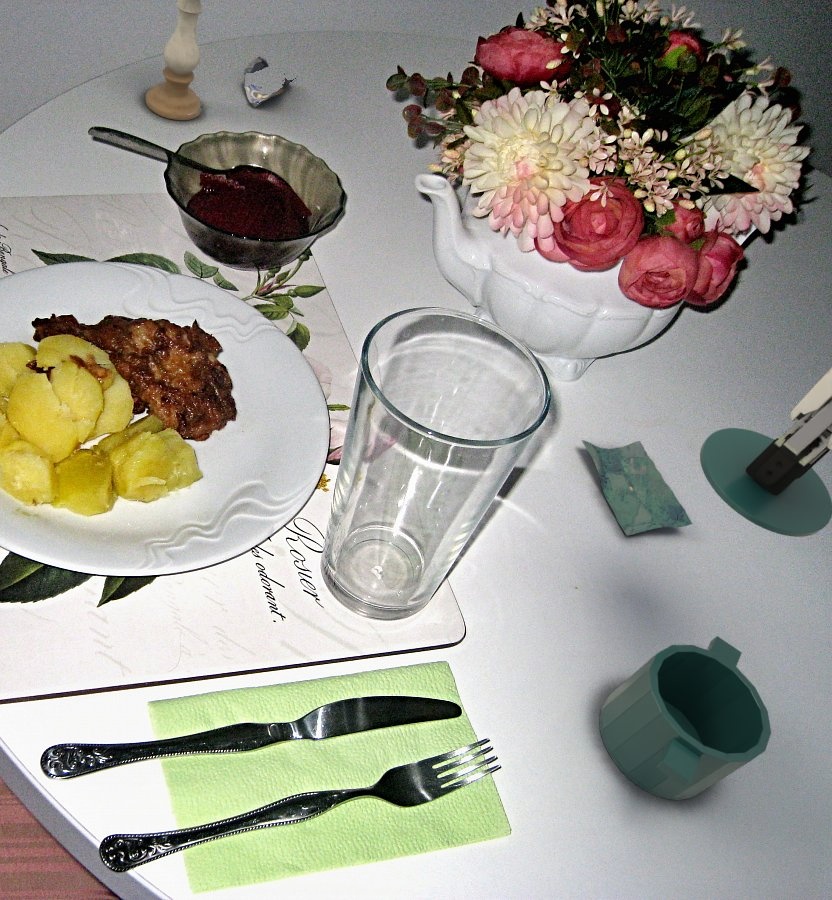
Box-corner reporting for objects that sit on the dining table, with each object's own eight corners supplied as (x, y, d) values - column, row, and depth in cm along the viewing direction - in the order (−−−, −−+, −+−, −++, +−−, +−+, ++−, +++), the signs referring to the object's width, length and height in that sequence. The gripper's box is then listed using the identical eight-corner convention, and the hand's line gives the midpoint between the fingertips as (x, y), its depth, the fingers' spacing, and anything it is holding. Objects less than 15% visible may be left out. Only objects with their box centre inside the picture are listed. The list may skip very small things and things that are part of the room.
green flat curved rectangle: (684, 534, 99) (694, 524, 98) (623, 538, 97) (632, 527, 96) (632, 447, 107) (640, 436, 106) (575, 448, 105) (582, 438, 104)
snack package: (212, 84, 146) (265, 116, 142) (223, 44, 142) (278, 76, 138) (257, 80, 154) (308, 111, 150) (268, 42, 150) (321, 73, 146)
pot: (730, 719, 84) (789, 677, 78) (680, 850, 75) (744, 814, 68) (631, 649, 87) (681, 604, 81) (571, 766, 78) (622, 725, 71)
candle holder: (178, 87, 142) (201, -48, 128) (212, 115, 139) (239, -20, 124) (133, 96, 138) (151, -43, 123) (167, 125, 134) (190, -14, 119)
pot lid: (834, 489, 79) (891, 440, 74) (807, 565, 72) (868, 517, 67) (716, 417, 82) (762, 365, 77) (678, 483, 75) (727, 431, 70)
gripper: (950, 382, 57) (762, 545, 70) (1033, 313, 65) (851, 470, 79) (845, 309, 60) (685, 478, 73) (937, 252, 68) (779, 413, 82)
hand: (773, 473), depth 76 cm, fingers closed on pot lid, 3 cm apart
